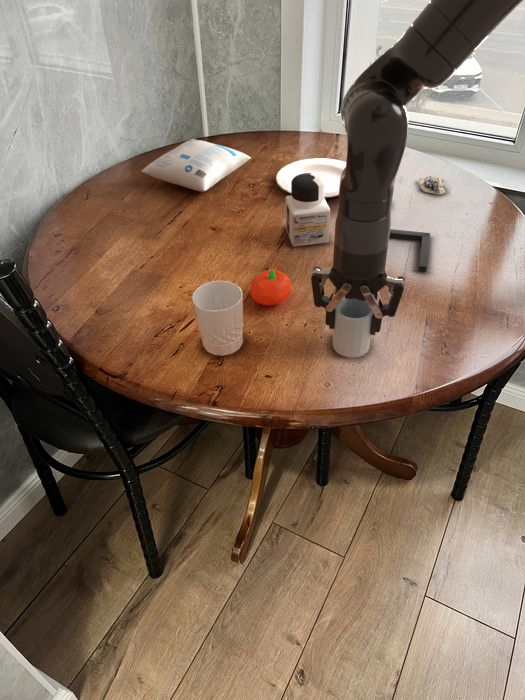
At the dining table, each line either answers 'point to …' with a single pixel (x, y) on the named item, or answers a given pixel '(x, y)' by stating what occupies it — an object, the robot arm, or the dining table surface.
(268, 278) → the pumpkin
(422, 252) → the frame
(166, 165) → the pouch
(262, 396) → the dining table surface
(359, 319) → the pale grey cup
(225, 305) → the white cup
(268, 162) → the dining table surface
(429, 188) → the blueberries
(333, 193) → the plate
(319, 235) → the container
